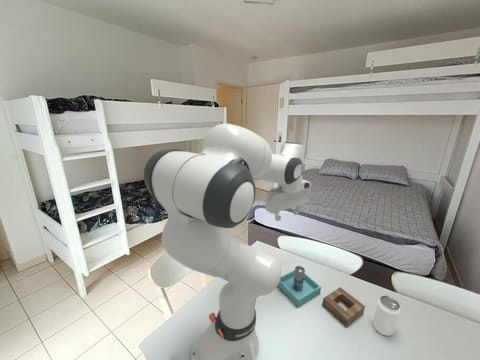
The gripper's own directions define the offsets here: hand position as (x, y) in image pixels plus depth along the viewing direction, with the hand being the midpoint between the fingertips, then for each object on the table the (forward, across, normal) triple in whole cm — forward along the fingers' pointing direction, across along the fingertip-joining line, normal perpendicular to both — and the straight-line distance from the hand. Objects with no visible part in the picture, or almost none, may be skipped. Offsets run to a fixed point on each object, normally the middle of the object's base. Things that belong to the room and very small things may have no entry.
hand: (287, 217), depth 85 cm
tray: (+34, +4, -6) cm, 35 cm away
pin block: (+34, +12, -22) cm, 42 cm away
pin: (+33, +4, -6) cm, 34 cm away
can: (+34, +18, -34) cm, 52 cm away
